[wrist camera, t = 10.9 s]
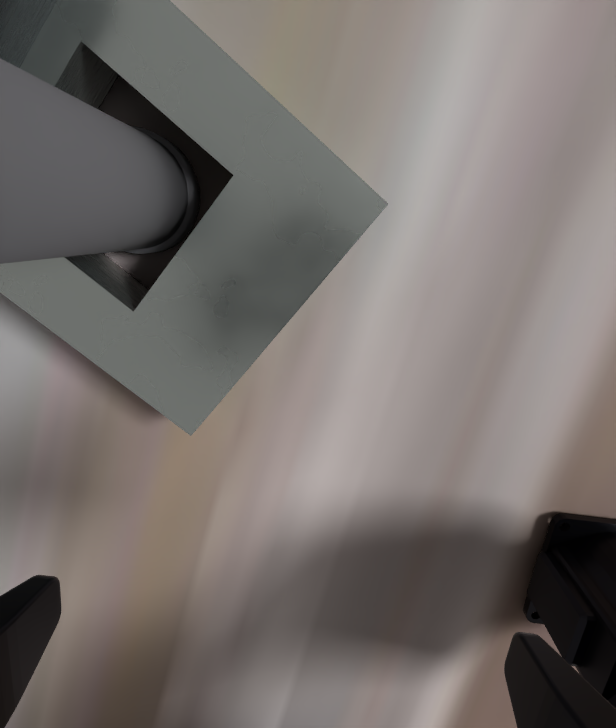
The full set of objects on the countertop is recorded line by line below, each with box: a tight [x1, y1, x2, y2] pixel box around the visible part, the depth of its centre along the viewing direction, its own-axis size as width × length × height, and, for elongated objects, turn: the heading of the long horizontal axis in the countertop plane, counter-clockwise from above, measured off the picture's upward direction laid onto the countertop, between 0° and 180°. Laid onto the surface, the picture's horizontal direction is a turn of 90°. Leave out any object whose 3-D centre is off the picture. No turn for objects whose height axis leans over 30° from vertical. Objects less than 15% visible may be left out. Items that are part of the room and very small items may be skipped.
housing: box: [0, 0, 388, 436], centre depth 16 cm, size 16×12×6 cm
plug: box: [0, 58, 200, 264], centre depth 13 cm, size 5×5×13 cm
